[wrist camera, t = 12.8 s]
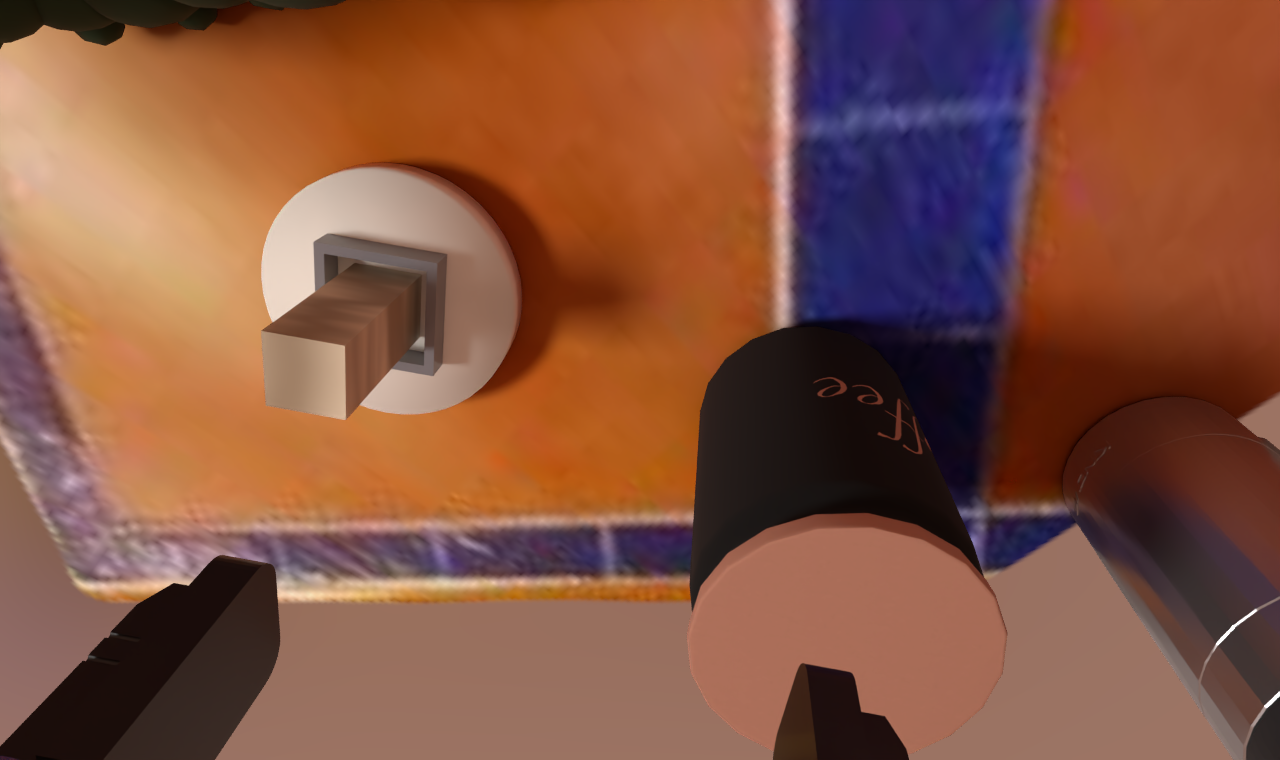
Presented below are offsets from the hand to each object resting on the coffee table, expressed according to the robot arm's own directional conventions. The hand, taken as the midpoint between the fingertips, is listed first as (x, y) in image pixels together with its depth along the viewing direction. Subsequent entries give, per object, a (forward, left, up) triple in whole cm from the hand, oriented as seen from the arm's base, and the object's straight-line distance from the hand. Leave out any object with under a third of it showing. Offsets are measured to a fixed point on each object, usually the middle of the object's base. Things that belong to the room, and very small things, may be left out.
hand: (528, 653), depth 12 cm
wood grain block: (+13, +7, -28) cm, 32 cm away
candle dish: (+13, +7, -30) cm, 34 cm away
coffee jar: (-9, +10, -30) cm, 33 cm away
